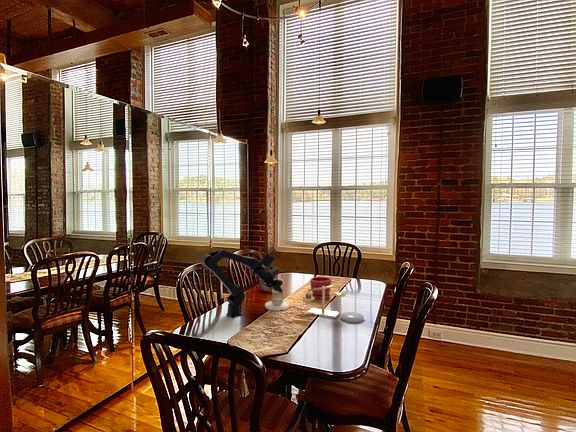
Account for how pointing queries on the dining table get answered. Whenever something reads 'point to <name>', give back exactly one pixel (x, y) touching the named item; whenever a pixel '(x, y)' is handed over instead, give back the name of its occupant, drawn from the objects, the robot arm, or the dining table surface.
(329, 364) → the dining table surface
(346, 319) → the slate dish
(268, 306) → the cream dish
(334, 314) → the brass balance
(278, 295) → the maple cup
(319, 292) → the plant pot
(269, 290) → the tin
